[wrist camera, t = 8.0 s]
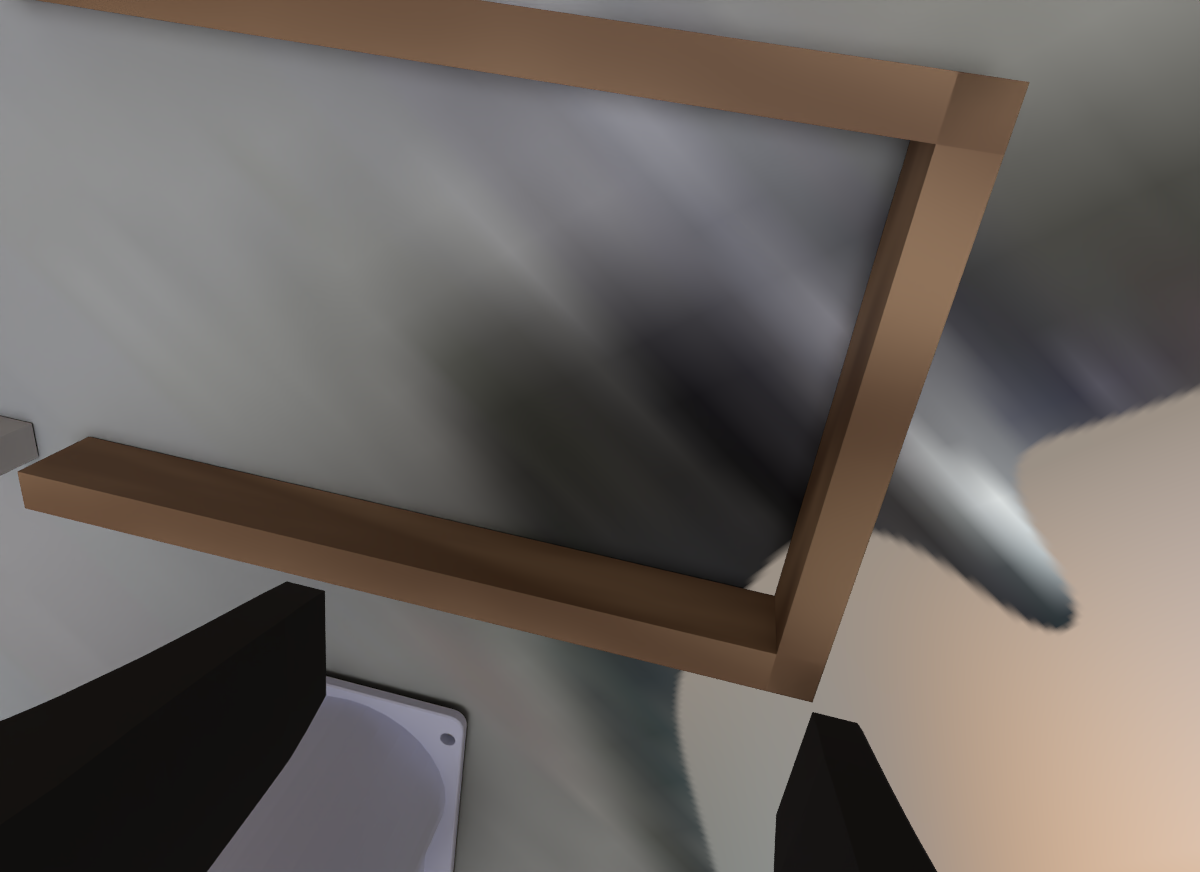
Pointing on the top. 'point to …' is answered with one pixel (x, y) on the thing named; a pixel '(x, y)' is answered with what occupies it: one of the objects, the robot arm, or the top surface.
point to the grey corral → (16, 444)
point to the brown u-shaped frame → (554, 573)
